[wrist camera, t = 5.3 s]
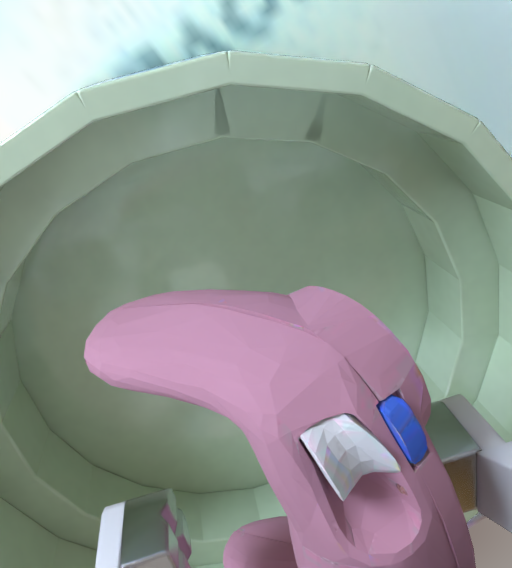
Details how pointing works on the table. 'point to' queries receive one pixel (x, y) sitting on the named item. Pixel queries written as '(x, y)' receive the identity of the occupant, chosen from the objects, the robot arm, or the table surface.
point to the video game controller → (302, 420)
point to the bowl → (229, 269)
